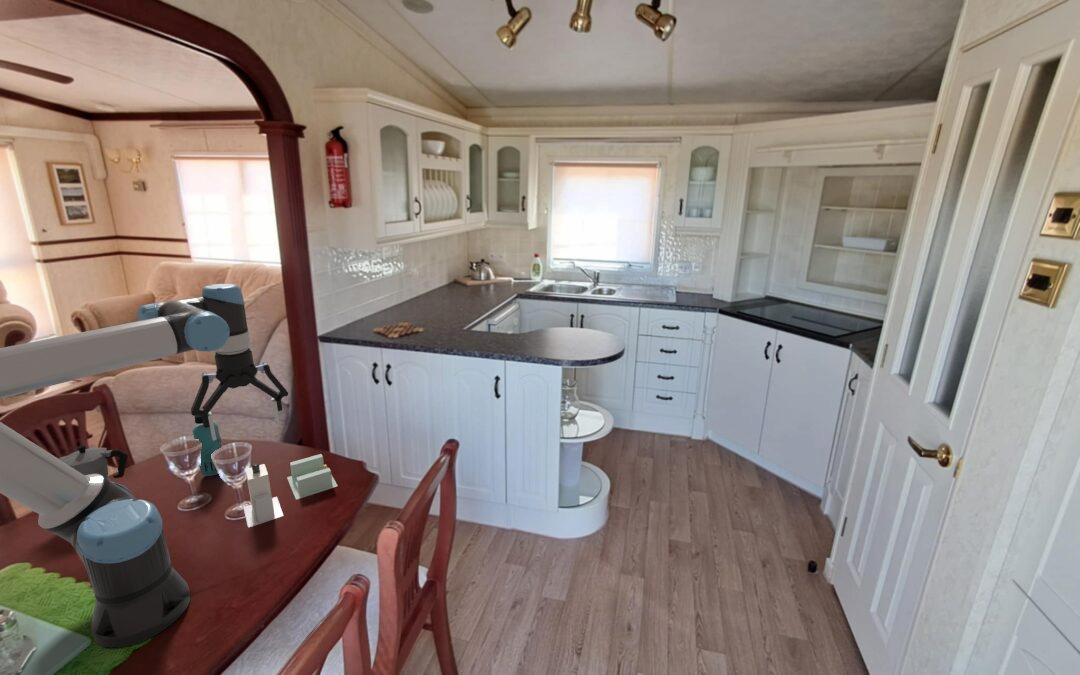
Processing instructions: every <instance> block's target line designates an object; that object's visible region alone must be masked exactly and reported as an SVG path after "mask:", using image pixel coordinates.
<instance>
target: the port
mask: <svg viewBox="0 0 1080 675" xmlns="http://www.w3.org/2000/svg"><path fill="white" fill-rule="evenodd" d="M289 467H290V472H291V475H290V476H287V477H286V478H287V481H288V483H289V486H290V488H291V491H292V493H293V495H294V498H295V501H296V500H300V499H303V498H306V497H308V496H309V497H310V496H312V495H314V494H319V493H321V492H325V491H328V490H330V489H333V488H336V487H338V484H337V482H336V480H335V478H334V477H333V475H332V470H331V469H330V467H328V465H327V464H324V456H323V454H322V453H319V454H315V455H311V456H309V457H305V458H302V459H298V460H293V461H292V462H291V461H290V462H289Z"/></svg>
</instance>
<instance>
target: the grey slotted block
mask: <svg viewBox="0 0 1080 675" xmlns="http://www.w3.org/2000/svg"><path fill="white" fill-rule="evenodd" d="M254 499H255V505H256V511H257V516H258V520H256V521H255V518H254V514H253V510H252V505H251V504H249V505H245V506H243V512H244V515H245V521H246V525H247V527H248V528H249V529H250V528H252V527H255V526H258V525H261V524H264V523H266V522H270V521H272V520H275V519H279V518H282V517H284V513H283V511H282V507H281V504H280V501H279V498H278V496H274V497H272V501H273V508H274V515H273V514H272V508H271V502H270V496H269V493H267V494H264V495H260V496H257V497H254Z"/></svg>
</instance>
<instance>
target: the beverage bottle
mask: <svg viewBox="0 0 1080 675" xmlns="http://www.w3.org/2000/svg"><path fill="white" fill-rule="evenodd" d="M194 423H195V424H197V425H195V426H194V427H193V429H192V431H191V432H192V434H193V439H199V441H200V442H201V443H202V449H201V466H200V465H199V471H200V474H201V475H202V476H204V477H209V476H210V477H211V476H215V475H219V474H218V473H217V470H216V468H215V466H214V464H213V462H212V459H211V454H212V453H213V452H214V451H215V450H217V449H219V448H221V447H222V448H223V445H222V437H221V435H220V434H221V433H220V431H219V425H218V424H217V423H215V422H213V424H214V429H215V434H216V439H217V440H214V441H213V439H212V435H211V430H210V427H208V428H205V427H204V425H203V420H202V417H201V416H200V415H195V416H194Z"/></svg>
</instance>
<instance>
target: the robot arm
mask: <svg viewBox="0 0 1080 675" xmlns="http://www.w3.org/2000/svg"><path fill="white" fill-rule="evenodd" d="M201 292H202V293H201V295H200V296H197V297H193V298H192V297H190V298H183V299H177V300H176V299H175V300H167V301H161V302H159V301H156V302H153V303H148V304H143V305H140V306H139V307H138V308H137V312H136V317H137V318H136V319H137V320H136V321H132V322H127V323H123V324H118V325H113V326H107V327H103V328H102V327H101V328H96V329H91V330H87V331H82V332H77V333H71V334H66V335H61V336H56V337H50V338H46V339H40V340H36V341H30V342H26V343H20V344H16V345H10V346H6V347H0V399H5V398H9V397H14V396H17V395H20V394H24V393H29V392H32V391H37V390H41V389H45V388H48V387H53V386H56V385H60V384H64V383H67V382H71V381H75V380H80V379H84V378H88V377H91V376H97V375H99V374H104V373H108V372H111V371H115V370H118V369H122V368H126V367H131V366H134V365H139V364H143V363H146V362H150V361H154V360H159V359H162V358H167V357H171V356H174V355H178V354H182V353H187V352H191V351H193V350H194V351H196V352H197V351H198V352H214V354H213V356H214V361H215V367H216V372H215V373H207V372H202V374H201V383H200V386H199V389H198V391H197V393H196V396H195V398H194V400H193V403H192V405H191V408H190V414H191V415H192V416H194V417H195V415H200V416H201V417H202V420H203V425H204V427H205V428H208V427H210V430H211V435H212V439H213V441H214V440H217V439H216V434H215V429H214V424H213V423H214V420H213V414H212V411H211V410H212V409H213V408H214V406H215V405H216V404H217V402H218V401H219V400H220V398H221V397H222V395H223V394H224V393H226V392H227V390H228V388H229V389H232V390H233V389H238V388H239V387H247V386H249V385H250V384H251V385H252V386H253V387H256V388H258V389H260V391H262V392H264V393H265V394H267V395H269V396H270V397H271V399H270V400H271V401H270V402H271V406H272V414H273V419H274V423H275V425H276V426H280V425H281V423H280V418H279V412H281V411H283V403H282V399H283V398H284V397H287V396H288V395H289V392H288V390H287V389H286V387H284V385H283V384H282V383H281V381H279V379H278V378H277V377H276V376H275V374H274V373H273V372H272V371H271V367H270V365H269V364H268V362H267V361H265V362H262V363H261V364H260V365H255V363H254V357H253V350H252V348H251V338H250V332H249V328H248V320H247V315H246V307H245V304H246V303H245V301H244V296H243V292H242V289H241V287H240V286H239V285H237V284H234V283H217V284H210V285H206V286H204V287H203V288H202V290H201ZM258 372H260V373H261V374H265V375H266V377H267V378H268V379H269V380H270V381H271V383H272V384H273V385H274V386H275V387H276V389H277V390H278V391H275V389H273V388H271V387H269V385H267V384H265V383H264V382H262V381H260V380H259V379H258V378H257V377H256V375H257V373H258ZM215 379H216V380H218V381H219V384H218V385H217V387H216V388H215V390H213V392H212V394H211V395H210V397H209V398H208V399H207V400H206V402H205V403H204V405H203V406H202V404H203V401H204V399H205V396H206V394H207V391H208V389H209V386H210V384H212V383H213V382H214V380H215ZM201 406H202V407H201ZM0 494H1V495H3V496H5V497H6V498H8V499H10V500H12V501H15V503H18V504H20V505H22V506H23V507H25V508H27V509H29V510H31V511H32V512H34V513H36V514H38V522H37V523H38V527H39V526H40V527H41V529H44V530H46V531H48V532H50V533H52V534H53V535H56V536H58V537H59V538H62V539H63V540H65V541H67V542H68V543H69V544H71V545H72V547H73V549H74V550H75V552H76V554H77V555H78V557H79V559H80V561H81V562H82V563H83V565H84V567H85V570H86V572H87V575H88V579H89V582H90V585H91V588H92V591H93V594H94V597H95V603H94V609H93V614H92V619H91V626H90V628H91V630H90V631H91V634H92V636H93V640H94V641H95V643H96V644H97V645H98V646H100V647H102V646H103V647H102V648H106V647H121V648H125V647H124V646H126V647H129V646H128V645H130V646H133V644H134V645H136V644H140V643H143V642H145V641H147V640H148V639H151V638H153V637H155V636H156V635H158V634H159V633H161V632H163V631H165V630H167V628H169V627H170V626H172V625H173V624H174V623H175V622H176V621H177V620H179V618H180V617H182V615H183V614H184V613H185V611H186V610H187V608H188V606H189V605H190V604H189V603H190V601H191V592H190V589H189V588H190V587H189V585H188V583H187V581H186V580H185V579H184V578H183V577H182V576H181V575H180V574H179V573H178V571H177V570H175V568H174V567H173V564H172V561H171V558H170V557H171V556H170V552H169V548H168V544H167V540H166V535H165V532H164V529H163V519H162V516H161V514H160V512H159V510H158V508H157V507H156V506H155V504H153V502H150V501H148V500H146V499H145V500H144V499H141V498H140V499H137V498H136V497H135V495H134V494H133V492H132V491H131V490H130V489H129V488H128V487H126V486H124V485H123V484H119V483H117V482H114V481H109V480H108V479H106V478H105V477H103V476H102V475H100V474H89V475H83V474H81V473H80V472H78V471H77V470H75V469H74V468H72V467H70V466H69V465H67V464H66V463H64V462H63V461H61V460H59V457H57V456H55V455H53V454H52V453H50V452H48V451H47V450H45V449H44V448H42V447H41V446H39V445H37V444H36V443H34V442H32V441H31V440H29V439H28V438H26V437H24V436H23V435H22V434H21V433H18V432H17V431H16V430H14V429H13V428H11V427H9V426H8V425H6V424H4V423H3V422H1V421H0Z"/></svg>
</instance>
